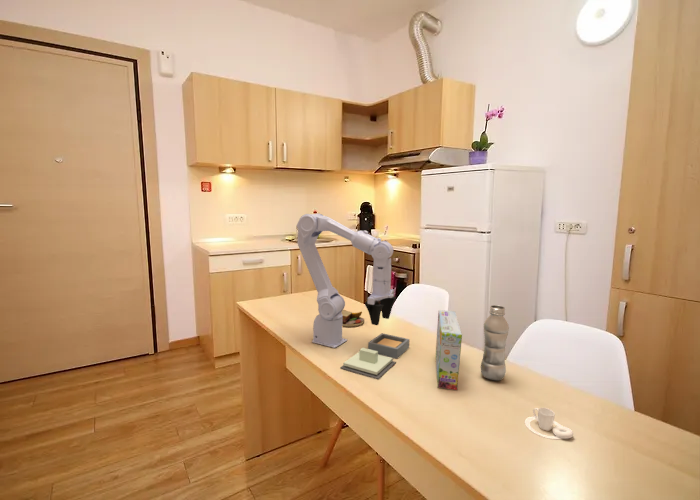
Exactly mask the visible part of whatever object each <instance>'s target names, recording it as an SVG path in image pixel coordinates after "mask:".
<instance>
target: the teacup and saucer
mask: <svg viewBox="0 0 700 500" xmlns="http://www.w3.org/2000/svg"><path fill="white" fill-rule="evenodd" d="M536 411H537V414H536ZM532 413H533V416H528V417H526V418H525V420H524V425H525V426H526V428H527V429H528V430H529V431H530V432H531V433H534V434H535V435H537V436H539V437H541V438H543V439H544V438H545V439H549V440H563V439H565V440H568V439H571V438H573V436H574V431H573V430H572V429H571V428H569V427H568V426H564V425H562V424H560V423H559V422H557V421H556V420H555V415H556V414H555V411H553V409H550V408H548V407H539V408H538V407H535V408H533V410H532ZM535 420H536V421H537V423H538V427H539V429H541V430H543V431H547V432H548V431H551V430H552V433H553V434H554V435H555V436H553V435H546V434H544V433H540V432H539V431H538V430H536V429H534V428H533V426H531V422H532V421H535ZM553 426H554V427H553Z"/></svg>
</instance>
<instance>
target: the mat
mask: <svg viewBox="0 0 700 500" xmlns="http://www.w3.org/2000/svg"><path fill="white" fill-rule="evenodd" d="M396 364H397V361H394V360H393V361H392V362H391V363H390V364H388V365H387V366H386V367H385V368H384V369H383V370H382V371H381V372H380V373H378V374H377V375H375V374H371V373H368V372H364V371H361V370H357V369H354V368H350V367H347V366H343V365H342V366H340V370H344V371H348V372H350V373H354V374H358V375H361V376H365V377H368V378H371V379H373V380H380V379H381V378H383V376H384V375H385V374H387V372H389V370H390V369H392V368H393V367H394V366H395V365H396Z"/></svg>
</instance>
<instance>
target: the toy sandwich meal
mask: <svg viewBox="0 0 700 500" xmlns="http://www.w3.org/2000/svg"><path fill="white" fill-rule="evenodd" d="M362 314H363V312H362V311H359V312H352V311H348V310H345V309H343V310H342V315H343V319H342V326H343V327H342V328H344V327H345V328H357V327H359V326H362V325H363V324H364V323H365V318H363V317H361V315H362Z"/></svg>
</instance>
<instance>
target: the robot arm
mask: <svg viewBox="0 0 700 500" xmlns="http://www.w3.org/2000/svg"><path fill="white" fill-rule="evenodd" d="M296 228H297V246H298V249H299V252H300V254H301V255H302V258H303V261H304V263H305V265H306V268H307V271H308V272H309V276H310V277H311V280H312V282H313V284H314V286H315V289H316V292H317V295H316V302H317V305H318V308H317V309H318V310H317V311H318V315H316V316H315V317H314V320H313V324H312V325H313V328H312V329H313V330H312V332H313V333H312V334H313V335H312V336H313V339H312V340H311V342H312V343H314V344H318V345H321V346H325V347H329V348H333V349H336V348H338V347H339V346H341V345H343V344H345V342H347V341H348V339H347V338H344V337H343V327H342V319H343V315H342V310H345V307H346V301H345V299H344V297H343V296H341V294H340V292H339V291H338V289H337V288H335V287H334V286H333V284H332V281H331V279H330V276H329V275H328V273H327V272H328V271H327V270H326V267H325V266H324V265H325V264H324V262H323V259H322V257H321V256H320V253H319V251H318V248H317V245H316V242H317V239H318V238H319V236H320V234H322V232H331V233H333V234H335V235H337V236H340V237H342V238H344V239H346V240H348V241H350V242H351V245H352V247H354V248H355V249H358V250H360V251H361V252H363V253H365V254H367V255H369V256H370V255H371V257H372V259H373V266H372V290H371V291H372V292H371V294H370V295H369V296H368V297H367V300H366V301H365V302H364V305H365V307H366V309H367V312H368V314H369V317H370V324H371V325H374V326H379V324H380V319H381V316H382V319H386V320H389V319H390V317H391V312H392V311H393V310H392V309H393V306H394V304H395V302H396V300H397V297H396V296H395V295H394V293H395V292H394V291H395V289H391V287H392V286H391V285H392V256H393V254H394V248H393V245H392V244H391V243H390V242H389V241H388V240H382V238H380V237H375V236H373V235H371V234H369V231H367V230H357V231H355V230H353V229H351V228H349V227H347V226H345V224H342V223H341V222H338V221H337V220H334V219H333V218H331V217H329V216H327V215H323V214H322V213H317V212H316V213H305V214H303V215H302V216H300V218H299V220H298V221H297V224H296Z"/></svg>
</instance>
